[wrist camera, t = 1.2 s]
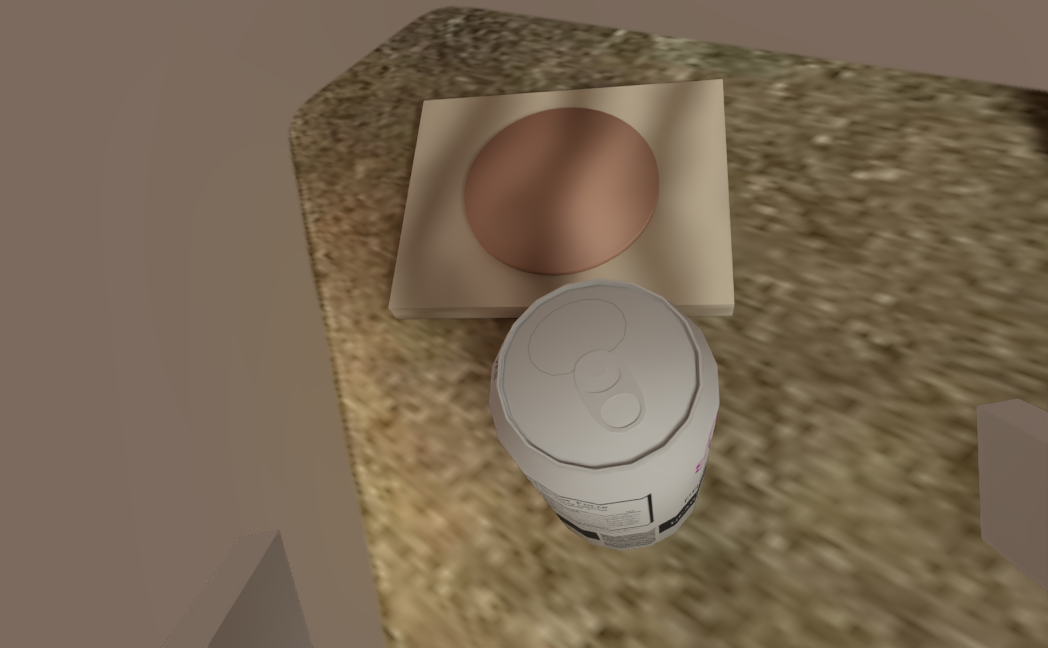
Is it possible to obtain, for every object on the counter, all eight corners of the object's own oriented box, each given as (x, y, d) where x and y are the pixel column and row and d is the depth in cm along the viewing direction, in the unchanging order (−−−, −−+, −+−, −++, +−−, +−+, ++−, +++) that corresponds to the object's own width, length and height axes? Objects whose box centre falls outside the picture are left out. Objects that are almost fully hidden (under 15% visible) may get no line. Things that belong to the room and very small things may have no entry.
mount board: (720, 95, 46) (723, 72, 44) (732, 316, 40) (735, 299, 38) (430, 115, 50) (421, 94, 48) (396, 318, 44) (384, 303, 42)
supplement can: (519, 442, 39) (442, 332, 25) (650, 372, 39) (642, 226, 26) (590, 581, 35) (543, 538, 22) (733, 502, 35) (774, 411, 22)
